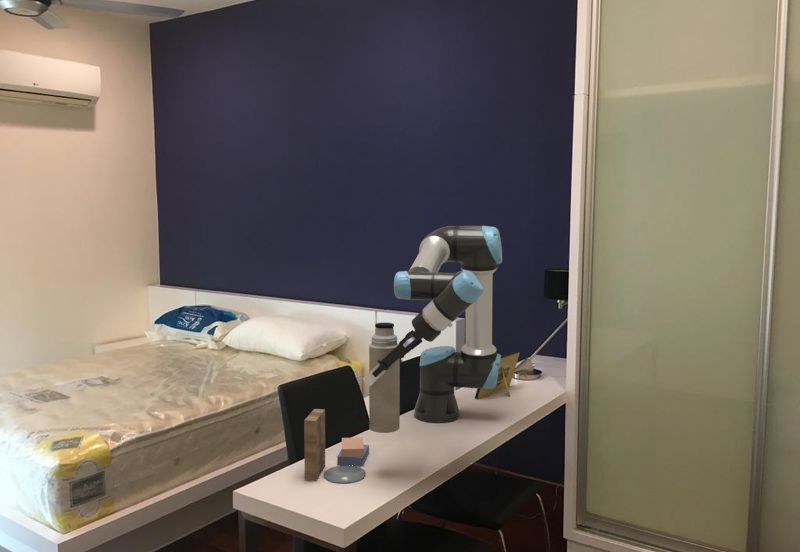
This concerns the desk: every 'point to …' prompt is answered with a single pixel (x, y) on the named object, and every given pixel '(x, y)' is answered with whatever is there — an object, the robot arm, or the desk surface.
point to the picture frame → (502, 375)
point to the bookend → (314, 444)
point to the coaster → (344, 474)
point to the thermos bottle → (384, 382)
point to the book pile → (352, 452)
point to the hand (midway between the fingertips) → (372, 378)
